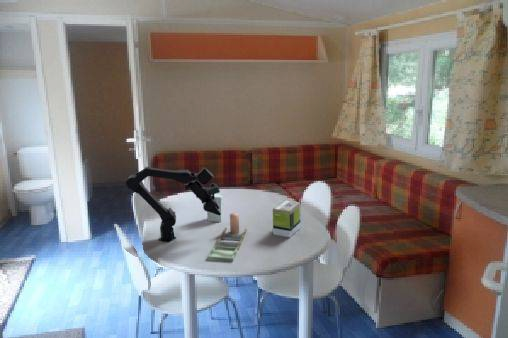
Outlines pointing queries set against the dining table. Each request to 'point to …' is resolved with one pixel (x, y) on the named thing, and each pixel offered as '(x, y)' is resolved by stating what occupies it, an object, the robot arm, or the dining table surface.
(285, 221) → the tea box
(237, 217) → the peach capsule
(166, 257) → the dining table surface
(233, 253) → the frame
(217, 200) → the skincare box
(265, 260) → the dining table surface
